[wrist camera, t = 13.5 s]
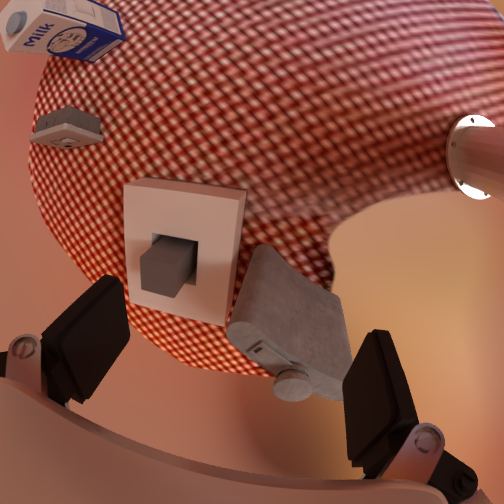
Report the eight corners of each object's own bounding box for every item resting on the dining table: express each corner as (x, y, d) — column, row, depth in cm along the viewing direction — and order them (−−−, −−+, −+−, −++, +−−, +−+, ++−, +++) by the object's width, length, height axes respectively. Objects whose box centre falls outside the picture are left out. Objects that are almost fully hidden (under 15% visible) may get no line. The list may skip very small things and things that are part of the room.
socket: (247, 189, 36) (239, 200, 31) (232, 303, 44) (224, 326, 38) (145, 176, 37) (123, 184, 32) (146, 283, 45) (129, 302, 39)
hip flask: (344, 301, 41) (366, 408, 23) (326, 317, 42) (336, 425, 24) (262, 239, 39) (233, 334, 20) (245, 259, 40) (207, 360, 22)
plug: (202, 233, 38) (174, 265, 29) (199, 261, 40) (174, 298, 31) (173, 227, 39) (139, 256, 30) (172, 255, 41) (141, 289, 31)
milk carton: (119, 11, 26) (31, -24, 8) (127, 39, 29) (29, 8, 10) (86, 35, 28) (-5, 17, 10) (92, 63, 30) (-6, 52, 12)
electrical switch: (66, 149, 37) (27, 152, 28) (67, 120, 35) (28, 119, 27) (106, 141, 36) (65, 141, 27) (107, 110, 34) (67, 103, 25)
